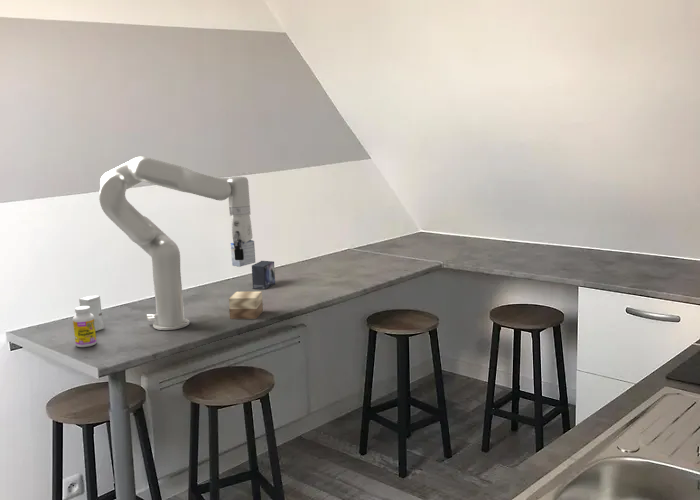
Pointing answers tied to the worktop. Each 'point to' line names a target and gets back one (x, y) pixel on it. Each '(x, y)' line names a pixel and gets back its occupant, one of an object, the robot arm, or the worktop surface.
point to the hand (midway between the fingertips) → (243, 257)
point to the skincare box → (94, 309)
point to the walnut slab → (246, 313)
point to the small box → (263, 274)
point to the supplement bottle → (84, 327)
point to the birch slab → (245, 300)
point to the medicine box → (248, 254)
